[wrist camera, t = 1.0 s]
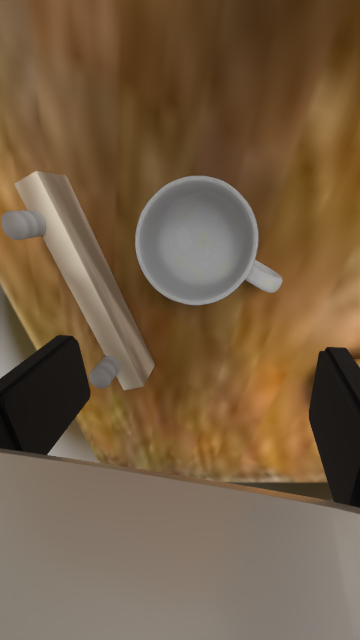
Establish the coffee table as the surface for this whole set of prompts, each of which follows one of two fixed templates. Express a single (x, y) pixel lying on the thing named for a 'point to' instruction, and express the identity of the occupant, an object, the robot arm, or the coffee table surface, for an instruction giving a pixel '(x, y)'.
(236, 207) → the teacup
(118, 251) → the coffee table surface
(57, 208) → the bar
